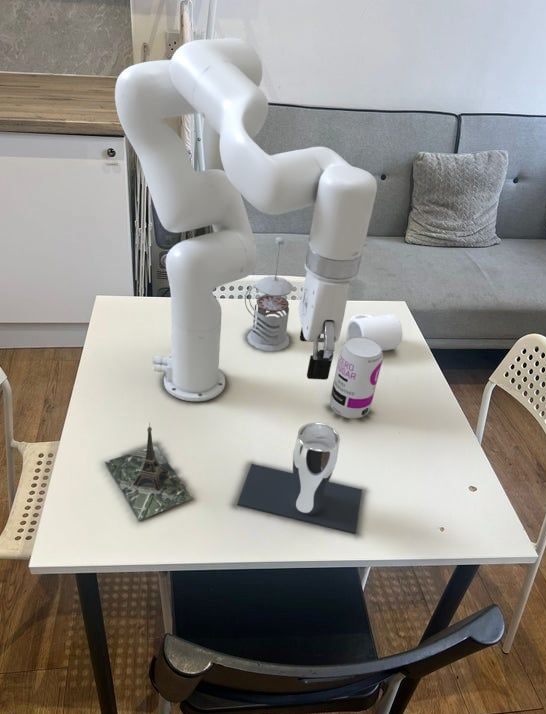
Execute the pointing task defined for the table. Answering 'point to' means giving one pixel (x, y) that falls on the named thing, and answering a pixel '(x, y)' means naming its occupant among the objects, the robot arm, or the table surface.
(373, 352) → the supplement can
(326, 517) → the mat
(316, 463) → the beer glass
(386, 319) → the mug
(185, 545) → the table surface
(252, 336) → the french press
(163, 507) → the eiffel tower figurine
